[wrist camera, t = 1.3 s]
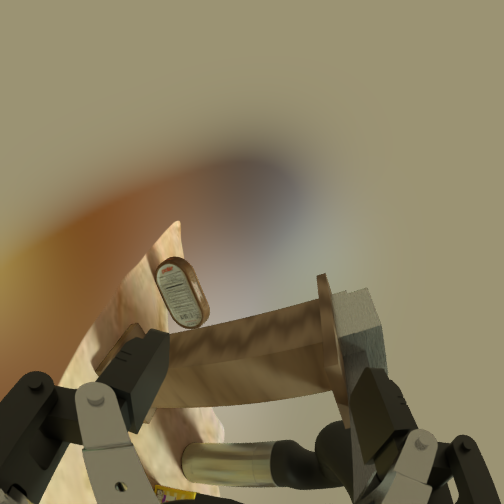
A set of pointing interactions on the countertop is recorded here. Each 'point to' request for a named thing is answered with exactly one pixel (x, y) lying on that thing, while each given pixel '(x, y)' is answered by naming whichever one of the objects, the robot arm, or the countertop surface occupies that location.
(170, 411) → the countertop surface
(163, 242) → the countertop surface
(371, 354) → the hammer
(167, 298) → the tin
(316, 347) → the stand
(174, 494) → the candy box
